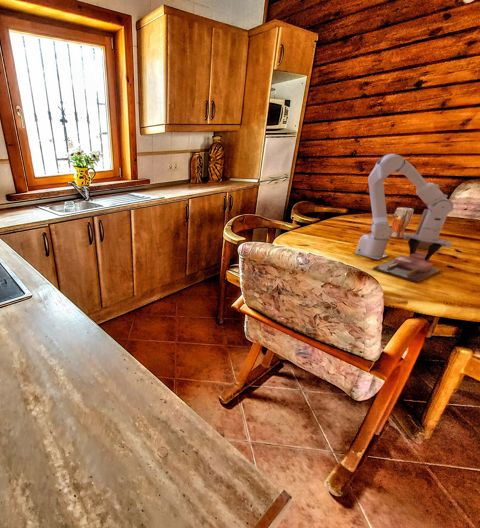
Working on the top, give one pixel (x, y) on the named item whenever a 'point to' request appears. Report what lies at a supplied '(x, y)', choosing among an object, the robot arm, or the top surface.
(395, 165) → the robot arm
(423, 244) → the wooden block
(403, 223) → the beer glass
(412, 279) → the board
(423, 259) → the loose pad
